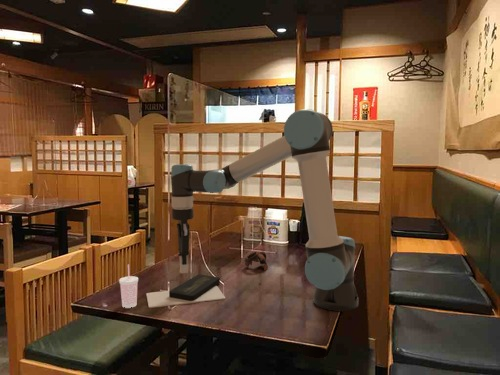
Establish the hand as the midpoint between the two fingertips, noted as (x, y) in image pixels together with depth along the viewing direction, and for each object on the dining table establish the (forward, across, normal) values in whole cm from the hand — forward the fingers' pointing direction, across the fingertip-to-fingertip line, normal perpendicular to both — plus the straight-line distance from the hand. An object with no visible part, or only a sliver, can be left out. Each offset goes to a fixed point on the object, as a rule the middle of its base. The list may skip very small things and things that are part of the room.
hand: (183, 272), depth 143 cm
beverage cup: (+8, -6, +19) cm, 21 cm away
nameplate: (+6, +5, 0) cm, 8 cm away
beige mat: (+8, -4, 0) cm, 9 cm away
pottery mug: (+8, +21, -36) cm, 42 cm away
